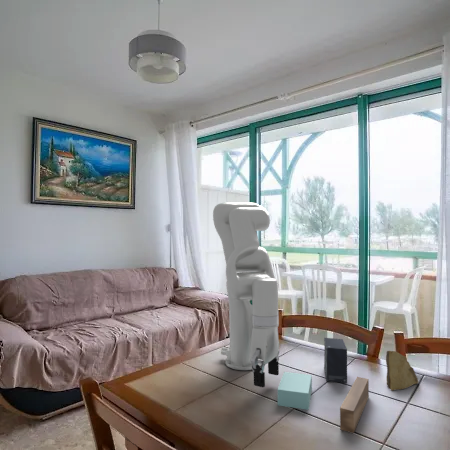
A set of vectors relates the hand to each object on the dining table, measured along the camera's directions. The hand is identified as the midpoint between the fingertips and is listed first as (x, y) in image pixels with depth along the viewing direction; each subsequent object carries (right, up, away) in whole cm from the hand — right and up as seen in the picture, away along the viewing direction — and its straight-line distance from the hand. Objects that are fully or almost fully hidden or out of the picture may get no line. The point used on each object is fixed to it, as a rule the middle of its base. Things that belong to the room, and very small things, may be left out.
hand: (266, 380), depth 102 cm
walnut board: (+21, -3, -12) cm, 25 cm away
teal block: (+8, -3, -4) cm, 9 cm away
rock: (+41, -3, +2) cm, 41 cm away
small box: (+23, -3, +10) cm, 25 cm away
